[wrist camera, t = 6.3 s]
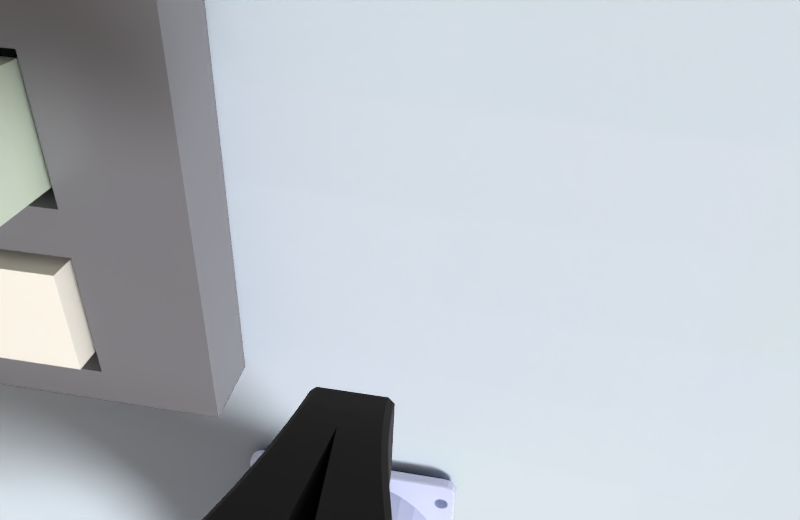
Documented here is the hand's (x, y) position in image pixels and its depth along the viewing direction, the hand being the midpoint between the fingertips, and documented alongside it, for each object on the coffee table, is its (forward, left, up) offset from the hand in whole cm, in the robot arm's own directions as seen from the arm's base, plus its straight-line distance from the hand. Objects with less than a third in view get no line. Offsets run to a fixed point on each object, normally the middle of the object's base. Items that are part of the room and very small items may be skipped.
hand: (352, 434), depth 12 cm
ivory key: (-5, +12, -9) cm, 16 cm away
